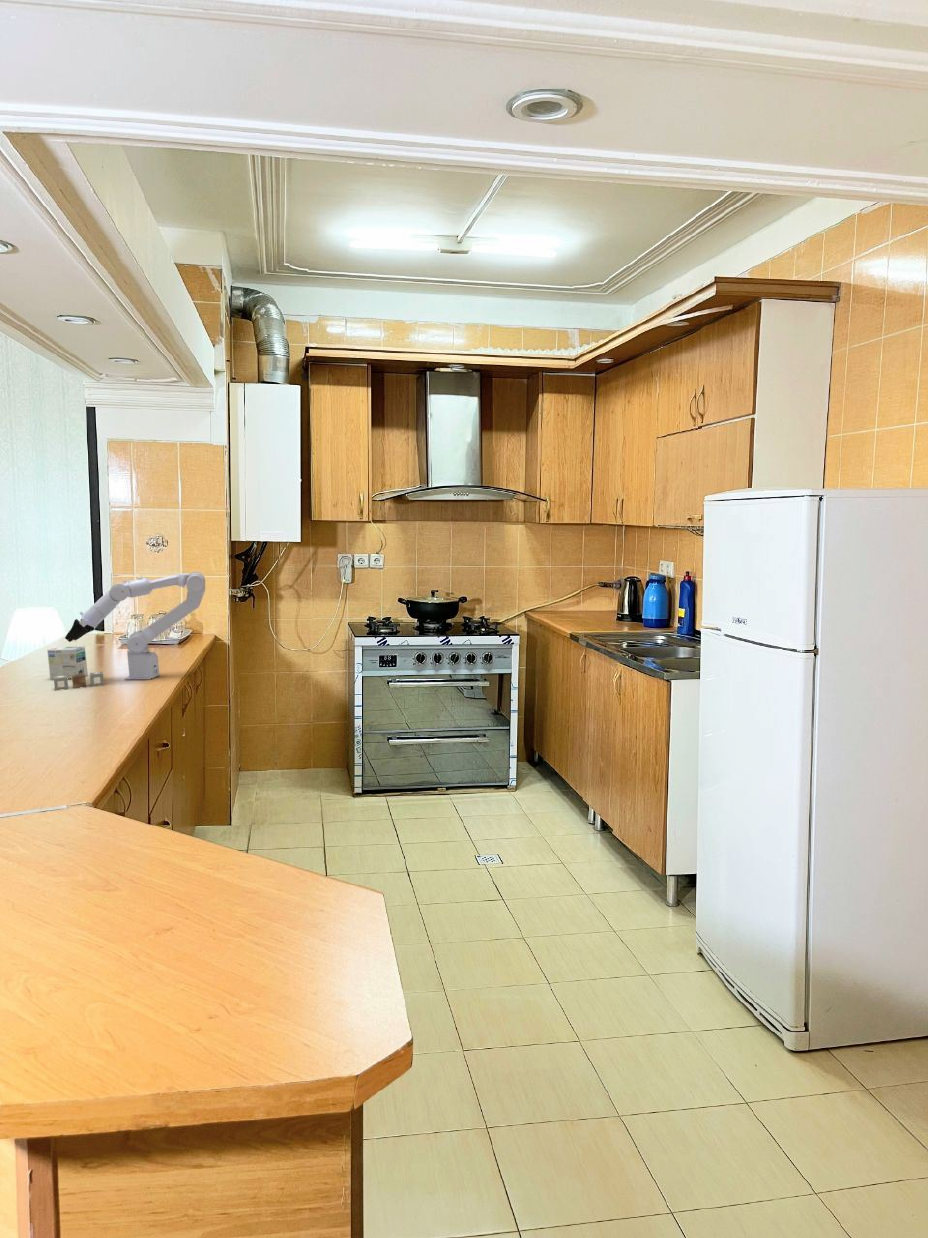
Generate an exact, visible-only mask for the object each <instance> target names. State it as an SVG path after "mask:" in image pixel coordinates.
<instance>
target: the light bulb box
mask: <svg viewBox="0 0 928 1238" xmlns="http://www.w3.org/2000/svg"><path fill="white" fill-rule="evenodd" d="M86 653H87V652H86V646H84V645H83V646H55V647H53V648H48V649H47V660H48V668H49V669H48V670H49V680H51V679H52V680H54V677H55V676H65V675H67V678H71V679H70V680H72V675H75V674H85V677H87V676H89V673H88V663H87V654H86Z"/></svg>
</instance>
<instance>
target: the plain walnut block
mask: <svg viewBox="0 0 928 1238" xmlns="http://www.w3.org/2000/svg"><path fill="white" fill-rule="evenodd" d="M71 680H72V689H73V688H74V689H81V688H80V687H83V688H87V681H86V680H87V679H86V676H85V674H75V675H72V679H71Z"/></svg>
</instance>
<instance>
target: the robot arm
mask: <svg viewBox="0 0 928 1238" xmlns="http://www.w3.org/2000/svg"><path fill="white" fill-rule="evenodd" d="M122 581H123V582H117V583H115V584H113V585H112V586H111V588H110V590H108V591H107V592H105V594H104V595H102V596H101V597H100V598H99V599H97V601H96V602H95V603H93V604H92V605H91V606H90V608H89V609H87V610H86V611H85V612H83V611H80V612H79V615H81V619H80V620H78V618H75V619H74V621H73V624H72V626H71V628H70V630H69V631H68V633H67V634H66V635H65V637H64V639H66V641H68V642H69V643H71V642H73V641H77V640H78V639H80V638H82V637H83V636H86V635H87V634H88V633H90V632H93V631H95V630H96V628H98V625H99V624H100V623H101V622H102V621H104V619H106V618H107V617H108V615H110V614H111V613H112V611H114V610H115V609H116V608H117V606H118V605H119V604H120V603H121V602H122V601H125V600H126V599H127V598H130V599H132V598H138V597H141V596H146V595H150V594H151V592H152V591H153V590H156V589H161V588H166V587H167V588H168V587H173V586H178V587H181V588H185V586H186V590H187V592H186V599H185V600H183V601H182V602H181V603H179V604H178V605H176V606H174V608H172V609H171V610H169V611H168V612H166V613H165V614H163V615H162V616H161V617H159V618H158V619H156V620H155V621H153V622H152V623H151V624H150V625H148V626H146V627H145V628H143V629H140V630H137V631H134V632H133V633H131V634H130V635H129V637H128V639H127V641H126V648H127V649H128V650H127V664H128V665H127V666H128V676H126V677H125V678H124V680H125V681H126V680H127V681H128V680H130V681H131V680H152V679H155V678H157V677H159V676H161V673H160V667H159V656H158V654H157V653H156V652H153V651H150V649H149V648H148V647H147V646H148V644H150V643H151V642H153V640H155V639H156V638H157V637H159V636H160V635H161V634H163V633H164V632H165V631H167V630H168V629H170V628H171V627H172V626H174V625H175V624H177V623H178V622H180V621H181V620H183V619H184V618H186V617H187V616H188V615H190V614H191V613H192V612H194V611H196V609H198V608H199V607H200V605H201V602H202V600H203V597H204V595H205V591H206V577H205V576H204V574H202V573H201V572H198V571H194V572H183V573H176V574H172V575H168V576H167V575H166V576H164V577H160V578H156V579H148V578H147V577H143V576H140V577H137V579H132V580H127V579H125V580H122ZM151 678H152V679H151Z"/></svg>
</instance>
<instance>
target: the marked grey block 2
mask: <svg viewBox="0 0 928 1238" xmlns="http://www.w3.org/2000/svg"><path fill="white" fill-rule="evenodd" d="M89 679H90V687H91V686H92V687H98V686H97V685H102V686H105V682H104V672H103V671H98V672H97V671H96V672H89Z"/></svg>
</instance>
